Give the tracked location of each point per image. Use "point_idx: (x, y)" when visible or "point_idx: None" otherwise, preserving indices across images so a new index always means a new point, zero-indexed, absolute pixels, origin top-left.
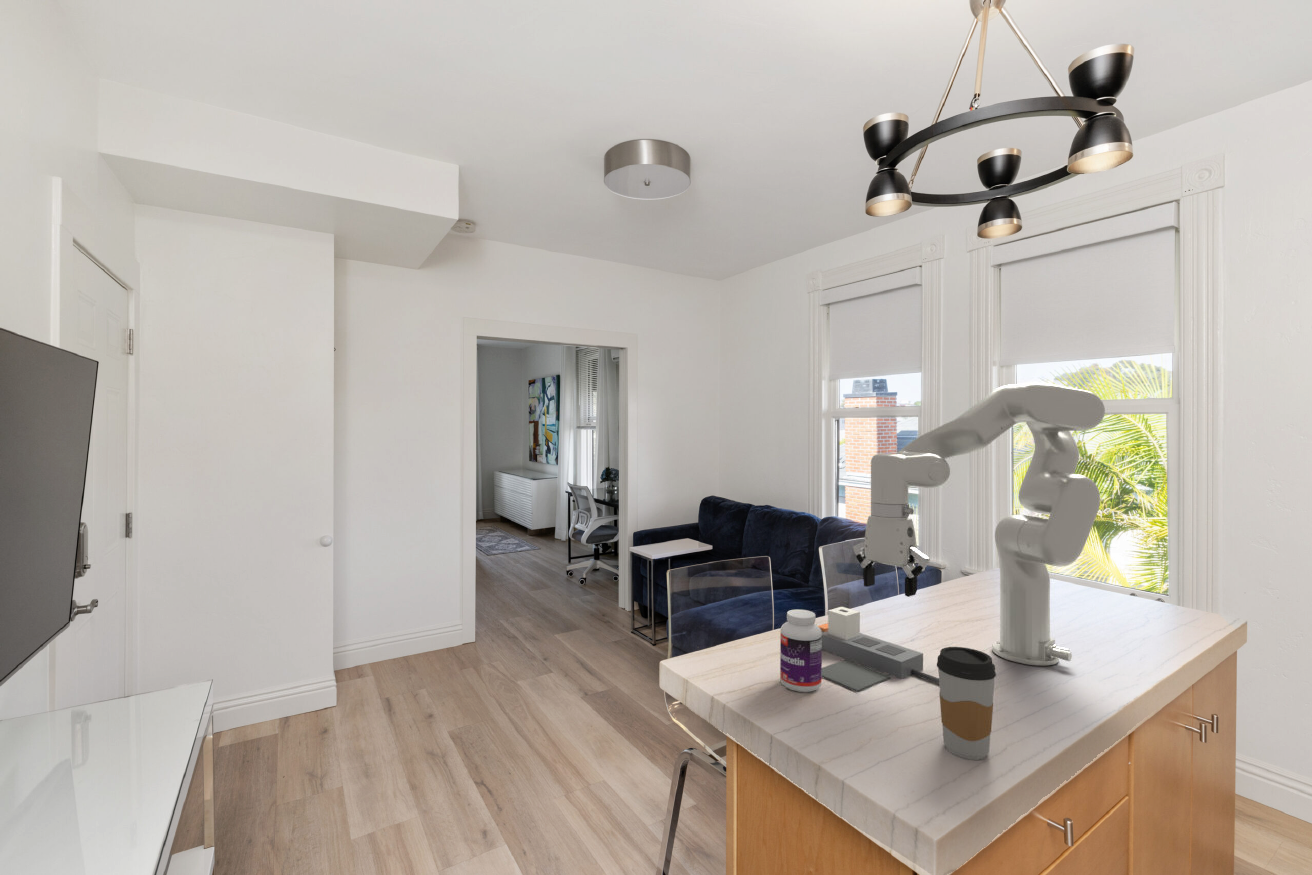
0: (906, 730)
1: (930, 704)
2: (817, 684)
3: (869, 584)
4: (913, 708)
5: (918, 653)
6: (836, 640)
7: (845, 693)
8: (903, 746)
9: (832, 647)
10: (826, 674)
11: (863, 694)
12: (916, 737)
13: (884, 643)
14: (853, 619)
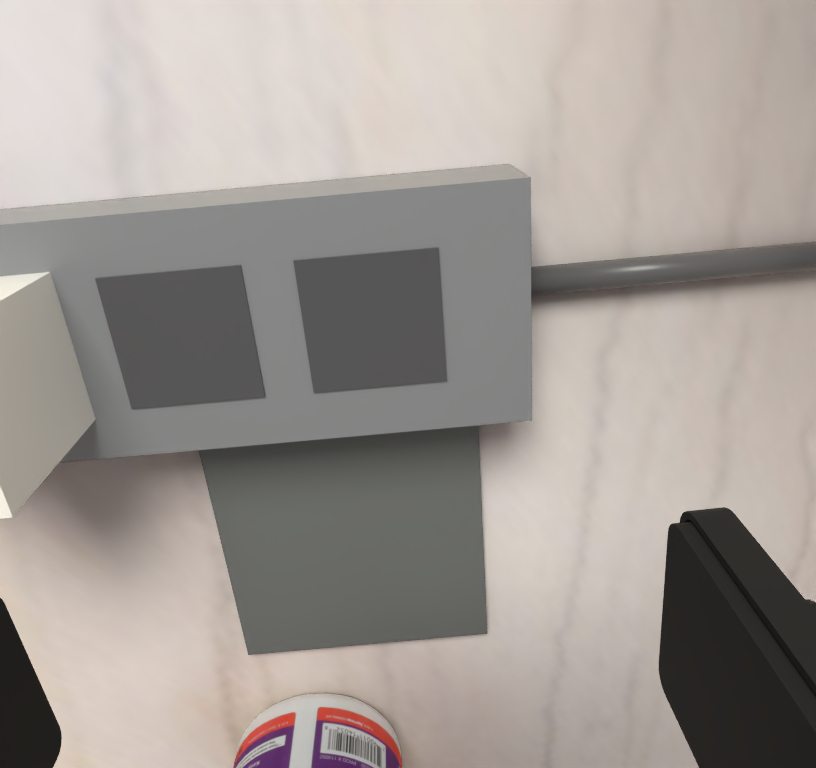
0: None
1: (737, 484)
2: (400, 756)
3: (35, 712)
4: None
5: (514, 210)
6: (67, 459)
7: (465, 665)
8: None
9: None
10: (304, 630)
11: (512, 621)
12: None
13: (259, 250)
14: (5, 400)
